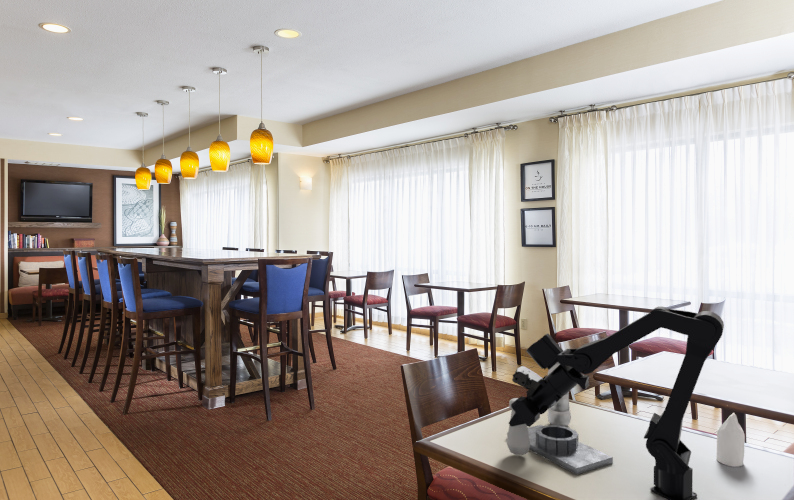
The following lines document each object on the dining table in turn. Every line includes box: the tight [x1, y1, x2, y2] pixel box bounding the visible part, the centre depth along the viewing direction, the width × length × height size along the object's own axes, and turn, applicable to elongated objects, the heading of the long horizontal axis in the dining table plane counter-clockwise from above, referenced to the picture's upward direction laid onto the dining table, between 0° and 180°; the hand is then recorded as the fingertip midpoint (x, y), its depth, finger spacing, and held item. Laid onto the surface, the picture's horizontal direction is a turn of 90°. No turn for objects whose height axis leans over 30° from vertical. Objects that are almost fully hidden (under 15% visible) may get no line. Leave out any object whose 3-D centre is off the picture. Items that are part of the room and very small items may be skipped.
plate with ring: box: [506, 424, 614, 475], centre depth 130 cm, size 24×12×4 cm, turn 28°
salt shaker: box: [506, 397, 531, 456], centre depth 126 cm, size 6×6×13 cm
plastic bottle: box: [547, 363, 572, 427], centre depth 146 cm, size 6×7×20 cm
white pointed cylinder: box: [716, 412, 746, 468], centre depth 122 cm, size 6×12×6 cm
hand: (513, 422), depth 127 cm, fingers closed on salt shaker, 3 cm apart
